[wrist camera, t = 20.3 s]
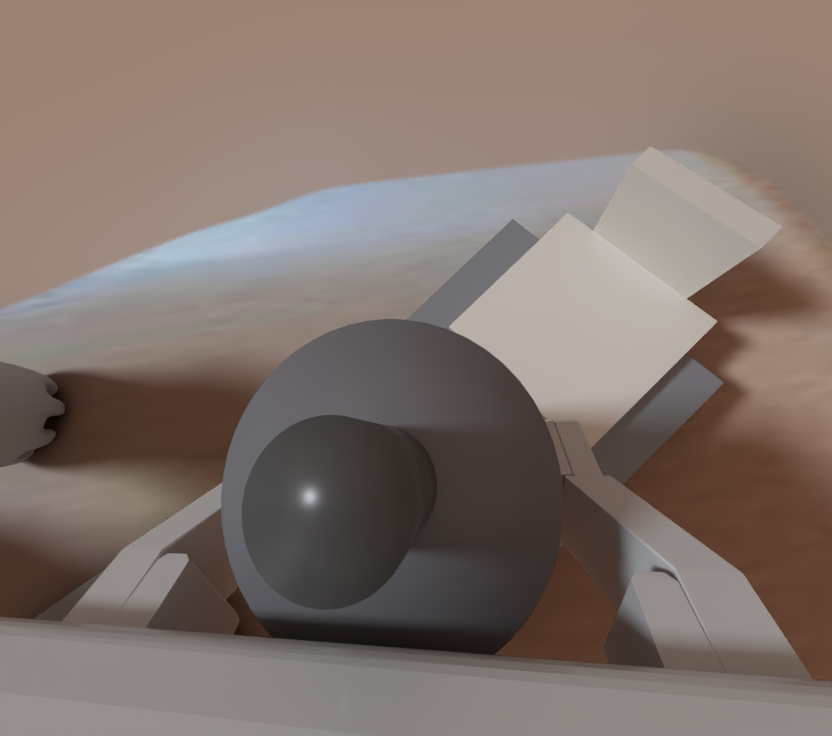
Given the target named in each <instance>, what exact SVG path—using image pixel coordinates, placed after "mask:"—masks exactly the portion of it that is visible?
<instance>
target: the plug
mask: <svg viewBox="0 0 832 736" xmlns="http://www.w3.org/2000/svg"><path fill="white" fill-rule="evenodd" d="M221 516H222V527H223V534H224V542H225V546H226V550H227V554H228V558H229V562H230V566H231V568H232V571H233V574H234V576H235V579H236V581H237V584H238V586H239V589H240V591H241V592H242V594H243V596H244V598H245V600H246V602H247V603H248V605H249V607H250V609H251V610H252V612H253V613H254V615H255V616H256V617H257V619H258V620H259V622H260V623H261V624H262V626H263V627H264V628H265V630H266V631H267V632H268V633H269V634H270V635H271V636H272V637H273V638H282V639H295V640H307V641H320V642H333V643H346V644H359V645H372V646H385V647H397V648H410V649H423V650H436V651H449V652H462V653H475V654H488V655H494V654H495V653H496V652H497V651H498V650H499V649H501V648H502V647H503V646H504V645H505V644H506V643H507V642H509V641H510V640H511V638H512V637H513V636H514V635H515V634H516V632H517V631H518V630H519V629H520V628H521V627H522V625H523V624H524V623H525V622H526V621H527V619H528V618H529V616H530V614H531V613H532V611H533V610H534V608H535V606H536V605H537V603H538V602H539V600H540V598H541V596H542V594H543V592H544V590H545V587H546V585H547V583H548V581H549V578H550V576H551V574H552V571H553V567H554V564H555V560H556V557H557V553H558V550H559V546H560V539H561V532H562V525H563V487H562V479H561V470H560V465H559V461H558V457H557V453H556V450H555V446H554V442H553V440H552V437H551V435H550V432H549V430H548V427H547V425H546V422H545V420H544V418H543V416H542V414H541V413H540V411H539V409H538V407H537V405H536V404H535V402H534V400H533V398H532V397H531V396H530V394H529V393H528V392H527V390H526V389H525V387H524V386H523V385H522V383H521V382H520V381H519V379H518V378H517V377H516V376H515V375H514V374H513V373H512V372H511V371H510V370H509V369H508V368H507V367H506V366H505V365H504V364H503V363H502V362H501V361H500V360H498V359H497V358H496V357H495V356H493V355H492V354H491V353H490V352H488V351H487V350H486V349H484V348H483V347H481V346H480V345H478V344H476V343H475V342H473V341H471V340H470V339H468V338H466V337H464V336H462V335H460V334H457V333H455V332H453V331H451V330H448V329H445V328H442V327H439V326H435V325H432V324H429V323H424V322H418V321H411V320H397V319H384V320H373V321H365V322H361V323H356V324H352V325H348V326H345V327H342V328H339V329H336V330H334V331H331V332H328V333H326V334H324V335H322V336H320V337H318V338H316V339H314V340H312V341H311V342H309V343H308V344H306V345H305V346H303V347H302V348H300V349H299V350H297V351H295V352H294V353H293V354H292V355H291V356H289V357H288V358H287V359H286V360H285V361H283V362H282V363H281V364H280V365H279V366H278V367H277V368H276V369H275V370H274V371H273V372H272V373H271V374H270V375H269V377H268V378H267V379H266V380H265V381H264V382H263V384H262V385H261V386H260V388H259V389H258V390H257V392H256V393H255V394H254V396H253V397H252V399H251V401H250V403H249V404H248V406H247V408H246V409H245V411H244V413H243V415H242V417H241V419H240V421H239V424H238V426H237V428H236V430H235V432H234V435H233V438H232V441H231V445H230V448H229V451H228V454H227V459H226V464H225V469H224V474H223V482H222V493H221Z"/></svg>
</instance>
